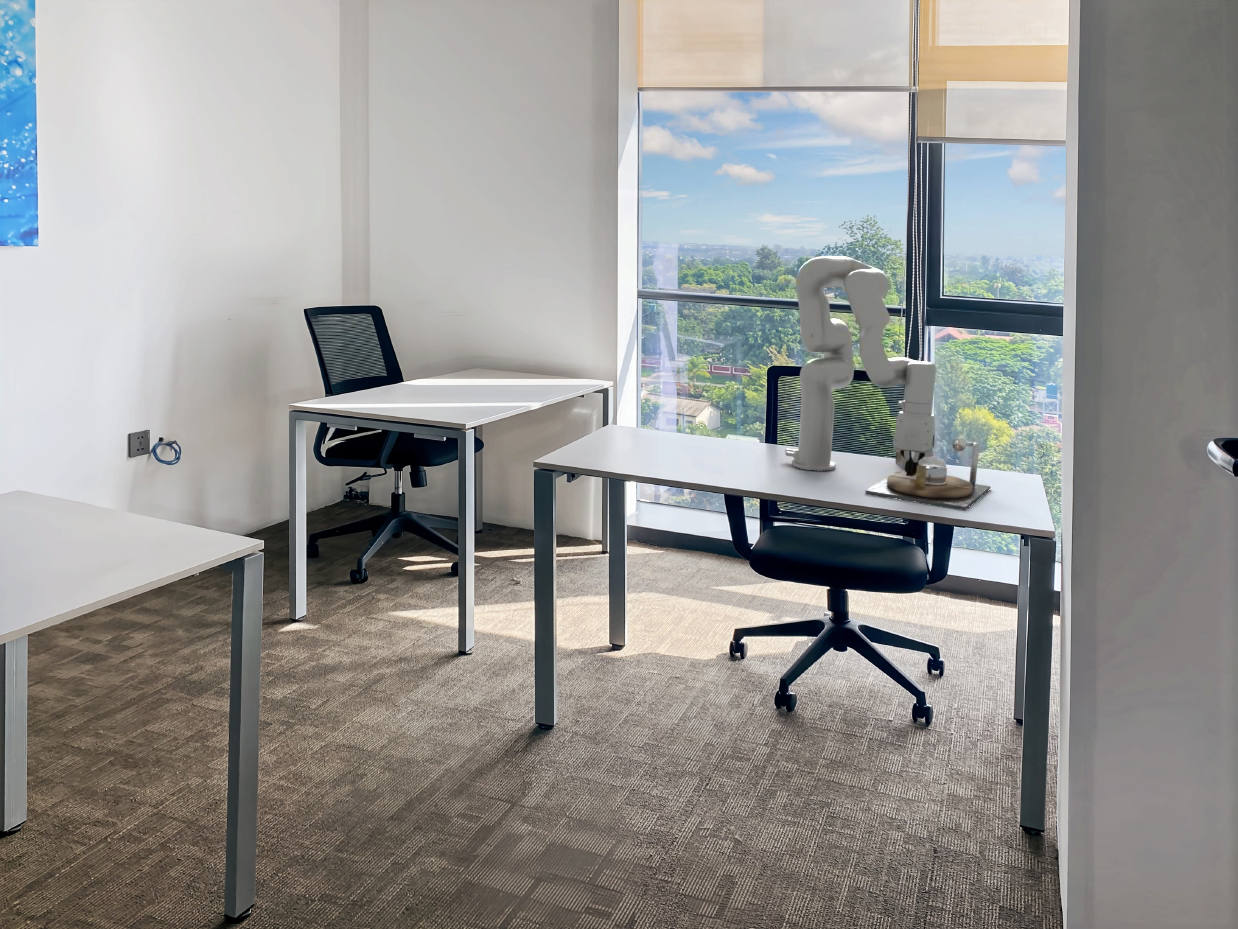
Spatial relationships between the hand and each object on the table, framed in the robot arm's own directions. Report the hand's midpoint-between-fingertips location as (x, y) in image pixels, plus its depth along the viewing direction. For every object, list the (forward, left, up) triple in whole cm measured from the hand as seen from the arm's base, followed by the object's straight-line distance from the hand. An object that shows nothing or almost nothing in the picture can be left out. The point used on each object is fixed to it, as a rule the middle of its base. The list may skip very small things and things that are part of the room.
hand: (910, 475), depth 281 cm
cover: (+6, 0, -1) cm, 6 cm away
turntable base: (+5, 0, -4) cm, 6 cm away
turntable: (+5, 0, -3) cm, 6 cm away
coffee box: (-8, +27, -4) cm, 28 cm away
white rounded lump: (-2, +20, -4) cm, 21 cm away
